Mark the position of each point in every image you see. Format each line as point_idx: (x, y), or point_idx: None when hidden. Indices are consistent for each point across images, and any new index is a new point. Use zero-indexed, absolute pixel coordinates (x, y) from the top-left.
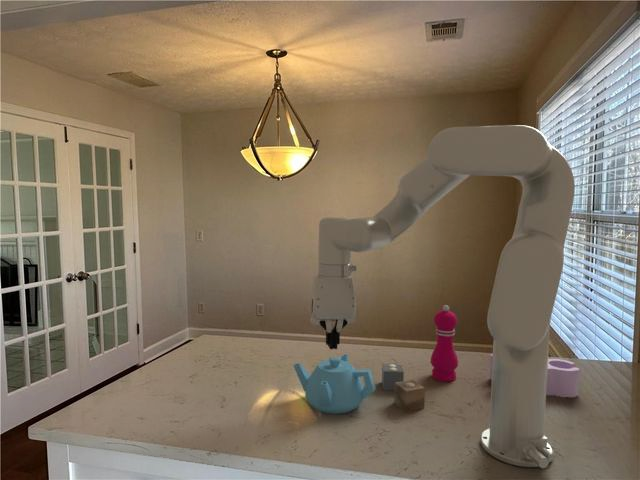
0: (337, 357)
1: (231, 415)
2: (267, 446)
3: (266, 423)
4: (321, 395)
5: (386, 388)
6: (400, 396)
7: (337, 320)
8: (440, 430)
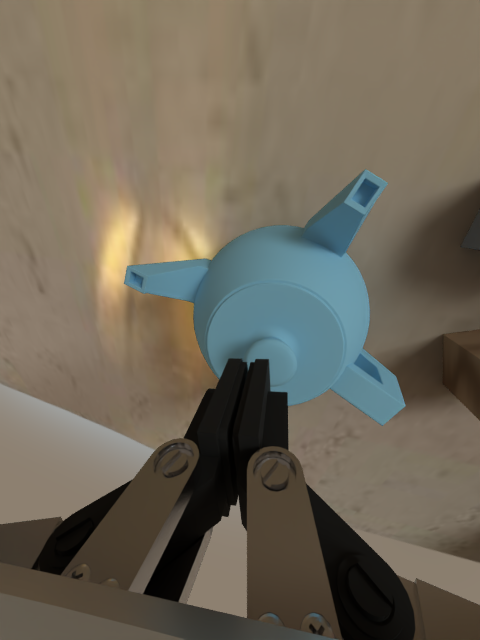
0: (283, 356)
1: (70, 327)
2: (148, 426)
3: (136, 367)
4: None
5: (475, 249)
6: (463, 378)
7: (276, 587)
8: (470, 460)
